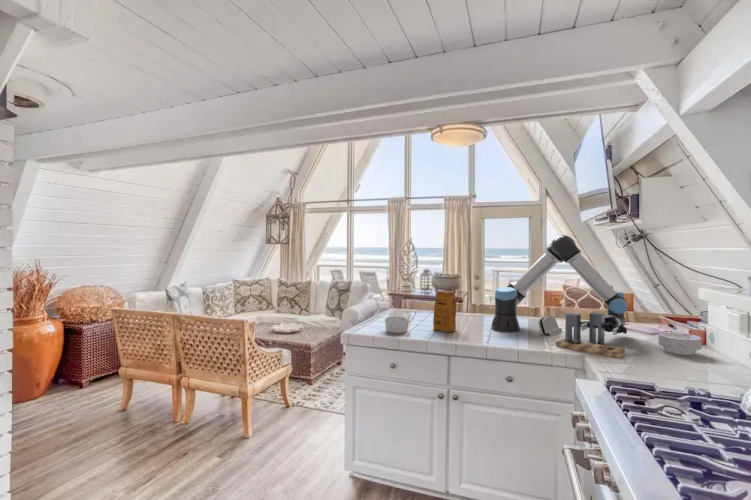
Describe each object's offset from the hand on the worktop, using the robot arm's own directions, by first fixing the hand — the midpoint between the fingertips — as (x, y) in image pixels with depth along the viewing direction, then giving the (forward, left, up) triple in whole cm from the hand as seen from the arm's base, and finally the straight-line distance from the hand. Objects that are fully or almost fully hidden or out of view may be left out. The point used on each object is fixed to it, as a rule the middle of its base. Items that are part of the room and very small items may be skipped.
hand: (597, 329), depth 180 cm
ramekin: (-85, -48, -8) cm, 98 cm away
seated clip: (-7, -10, -8) cm, 15 cm away
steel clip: (0, +1, -8) cm, 8 cm away
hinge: (-27, +13, -8) cm, 31 cm away
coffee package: (-69, -26, -8) cm, 75 cm away
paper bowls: (+29, +16, -8) cm, 34 cm away
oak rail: (0, -10, -8) cm, 13 cm away
